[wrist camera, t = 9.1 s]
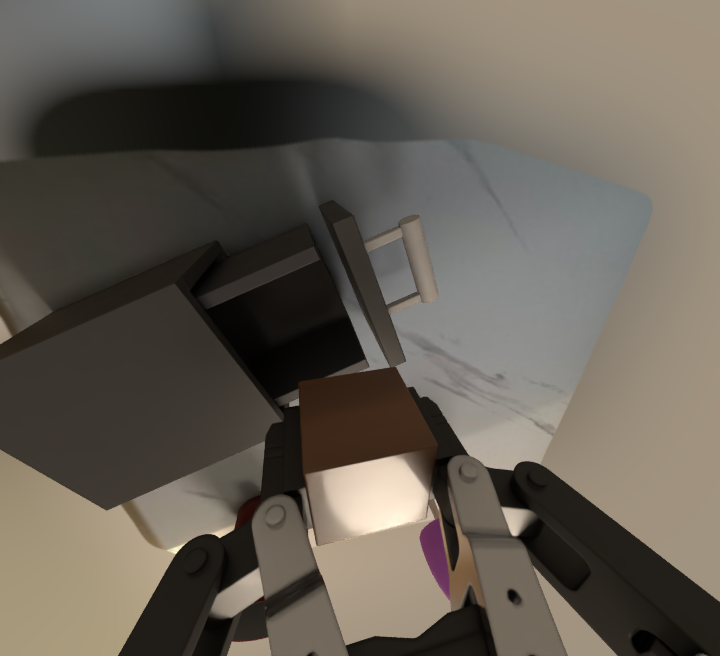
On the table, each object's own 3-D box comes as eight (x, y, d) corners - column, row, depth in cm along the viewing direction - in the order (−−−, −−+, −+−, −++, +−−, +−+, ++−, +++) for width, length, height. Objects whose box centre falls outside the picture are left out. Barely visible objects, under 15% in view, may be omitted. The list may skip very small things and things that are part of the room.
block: (297, 380, 11) (302, 473, 8) (395, 365, 12) (439, 445, 9) (309, 449, 13) (316, 547, 10) (392, 433, 14) (426, 519, 11)
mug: (211, 487, 34) (181, 608, 25) (285, 466, 35) (284, 575, 26) (245, 537, 40) (232, 649, 31) (308, 518, 41) (314, 621, 32)
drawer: (386, 176, 21) (430, 180, 15) (419, 294, 27) (463, 336, 20) (178, 267, 21) (129, 313, 15) (253, 367, 27) (242, 434, 20)
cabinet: (217, 239, 22) (174, 282, 14) (289, 353, 28) (289, 430, 20) (52, 312, 22) (-90, 398, 14) (160, 410, 28) (106, 511, 20)
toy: (434, 496, 46) (490, 624, 33) (395, 498, 44) (440, 635, 31) (450, 468, 43) (519, 595, 30) (410, 468, 41) (466, 605, 28)
